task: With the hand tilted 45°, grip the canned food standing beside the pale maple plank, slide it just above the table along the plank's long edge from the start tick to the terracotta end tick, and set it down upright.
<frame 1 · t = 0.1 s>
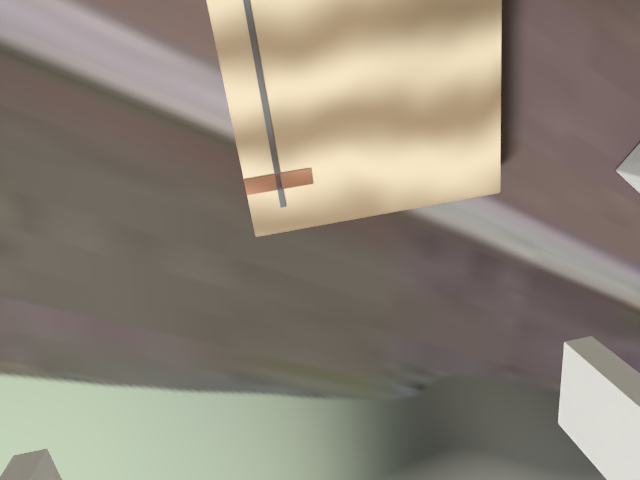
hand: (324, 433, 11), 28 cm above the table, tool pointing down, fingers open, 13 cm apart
maple plank: (350, 26, 34), on the table
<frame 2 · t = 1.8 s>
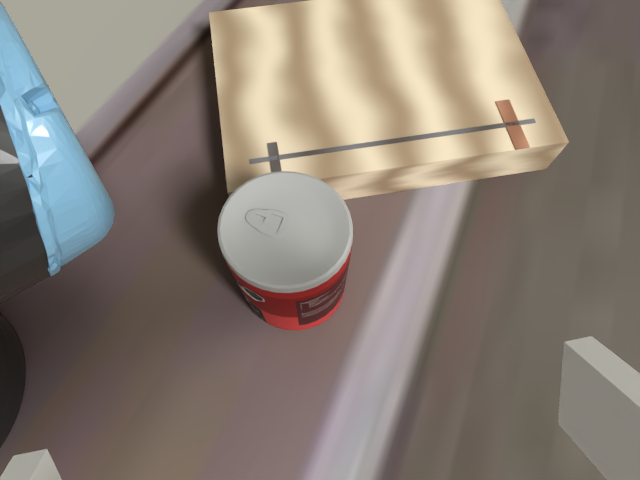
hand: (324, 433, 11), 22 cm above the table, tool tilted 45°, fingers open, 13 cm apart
maple plank: (370, 103, 43), on the table
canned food: (294, 286, 36), on the table
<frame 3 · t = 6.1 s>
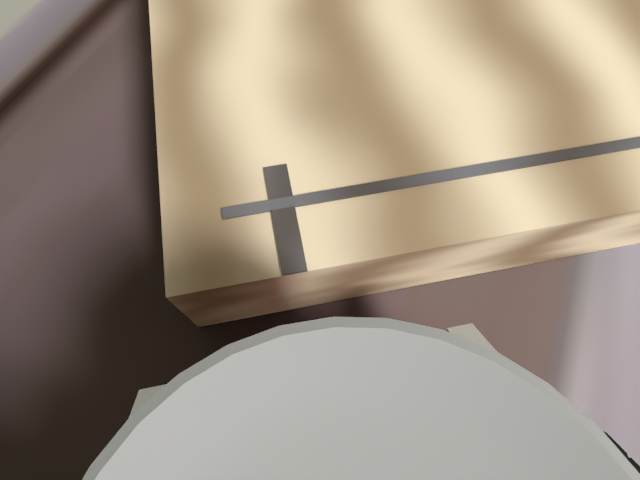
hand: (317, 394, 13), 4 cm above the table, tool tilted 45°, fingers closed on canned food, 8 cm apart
maple plank: (461, 79, 22), on the table
when the fingers open (4 cm above the table, at t = 13.1 s): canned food stays where it is, on the table.
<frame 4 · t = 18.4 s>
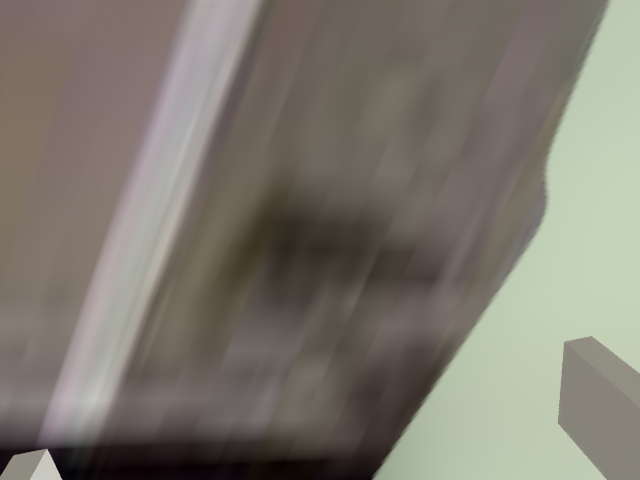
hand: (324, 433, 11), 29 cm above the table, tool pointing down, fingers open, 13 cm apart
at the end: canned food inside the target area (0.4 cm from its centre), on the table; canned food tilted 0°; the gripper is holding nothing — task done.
